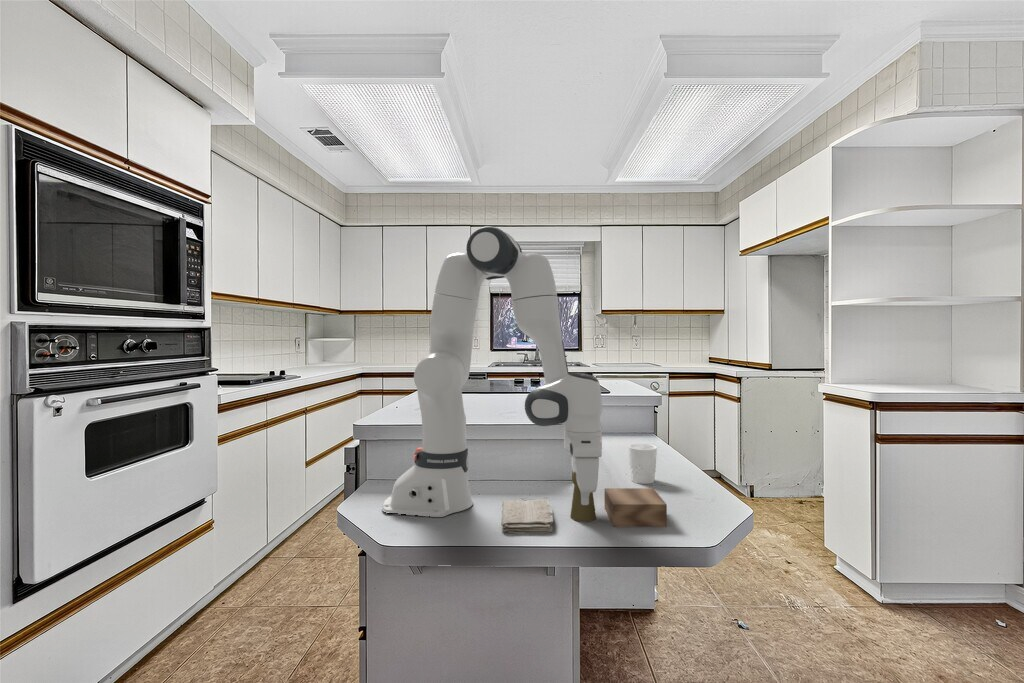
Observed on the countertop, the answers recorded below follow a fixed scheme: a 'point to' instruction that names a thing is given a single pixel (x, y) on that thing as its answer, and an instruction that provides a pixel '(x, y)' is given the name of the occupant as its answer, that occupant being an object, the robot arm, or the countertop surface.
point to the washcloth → (527, 516)
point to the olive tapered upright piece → (578, 510)
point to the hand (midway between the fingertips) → (583, 499)
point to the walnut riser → (635, 507)
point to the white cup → (642, 463)
